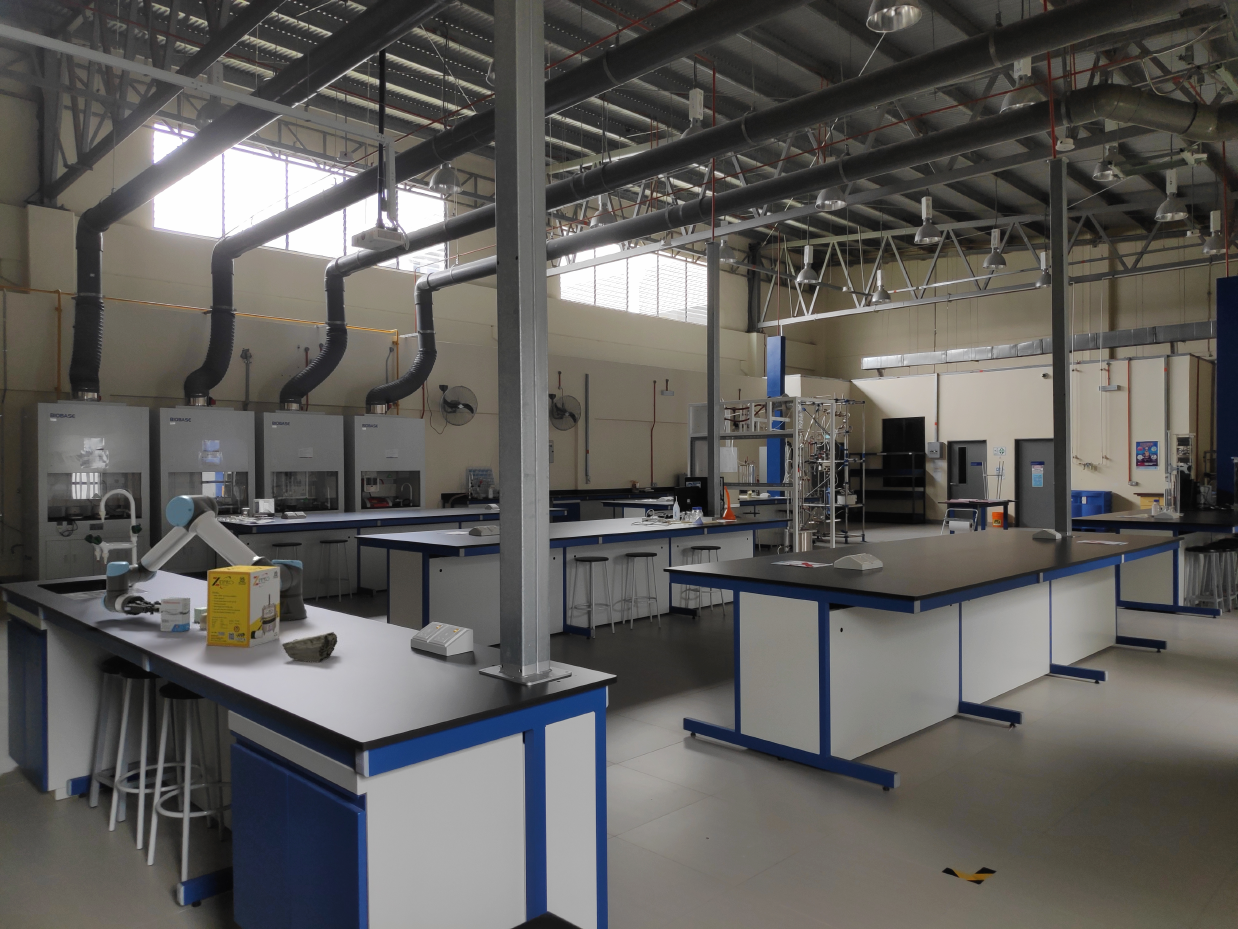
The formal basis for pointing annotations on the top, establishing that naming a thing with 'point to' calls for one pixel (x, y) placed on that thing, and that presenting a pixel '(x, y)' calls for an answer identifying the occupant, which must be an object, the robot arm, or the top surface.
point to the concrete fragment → (311, 647)
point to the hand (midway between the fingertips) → (166, 610)
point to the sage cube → (199, 613)
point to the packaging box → (243, 605)
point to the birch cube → (203, 621)
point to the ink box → (175, 614)
